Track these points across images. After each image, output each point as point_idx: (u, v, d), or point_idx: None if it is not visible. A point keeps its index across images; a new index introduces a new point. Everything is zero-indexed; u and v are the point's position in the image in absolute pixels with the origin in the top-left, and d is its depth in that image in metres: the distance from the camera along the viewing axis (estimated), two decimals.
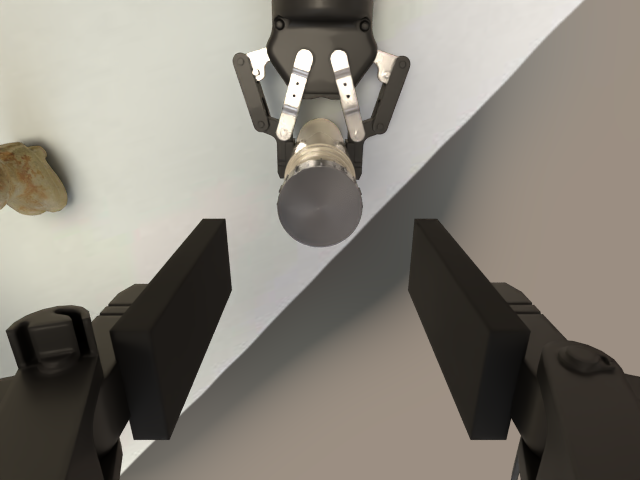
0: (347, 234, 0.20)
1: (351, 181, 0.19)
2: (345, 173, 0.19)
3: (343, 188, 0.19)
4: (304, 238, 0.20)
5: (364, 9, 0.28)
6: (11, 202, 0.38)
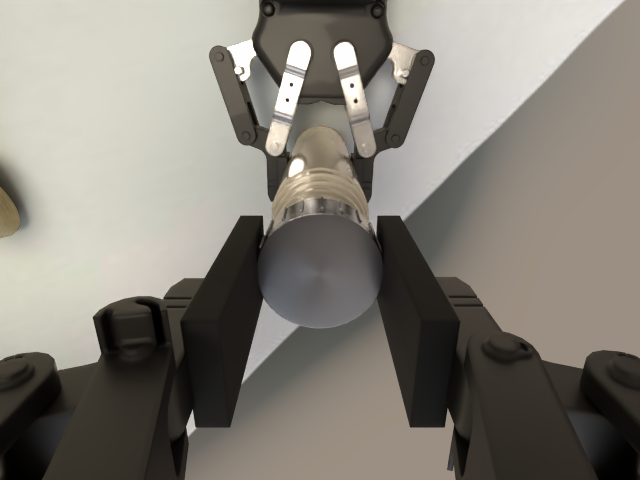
0: (361, 310, 0.13)
1: (368, 235, 0.12)
2: (359, 223, 0.12)
3: (356, 245, 0.12)
4: (297, 316, 0.13)
5: None
6: None
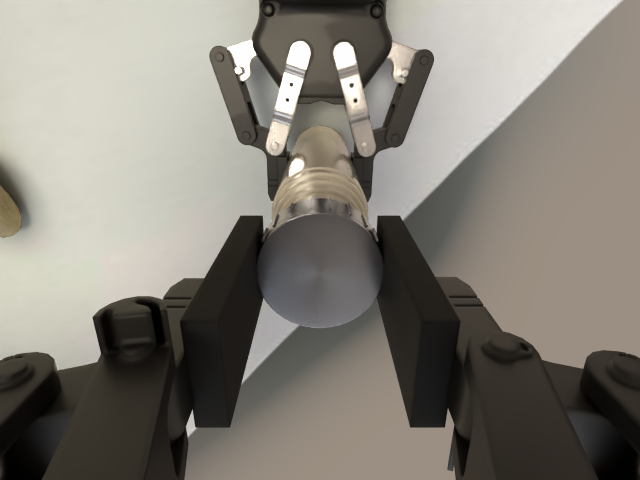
0: (318, 216, 0.12)
1: (258, 271, 0.13)
2: None
3: (273, 272, 0.13)
4: (372, 256, 0.13)
5: None
6: None
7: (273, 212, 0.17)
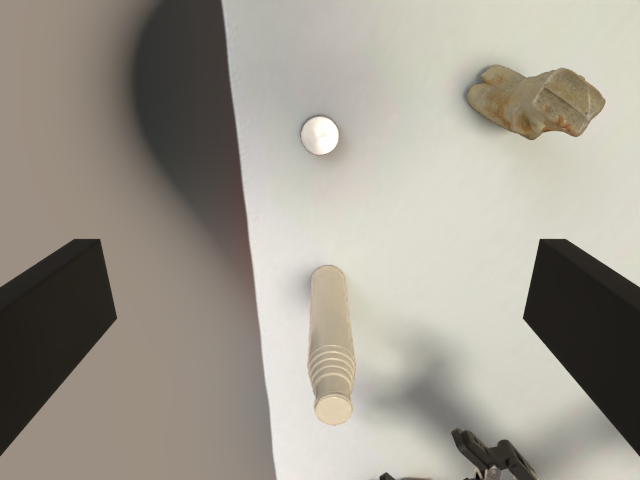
0: (308, 149, 0.44)
1: (332, 149, 0.44)
2: (335, 146, 0.44)
3: (329, 146, 0.44)
4: (304, 129, 0.43)
5: None
6: (510, 82, 0.39)
7: (351, 360, 0.35)
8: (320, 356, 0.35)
